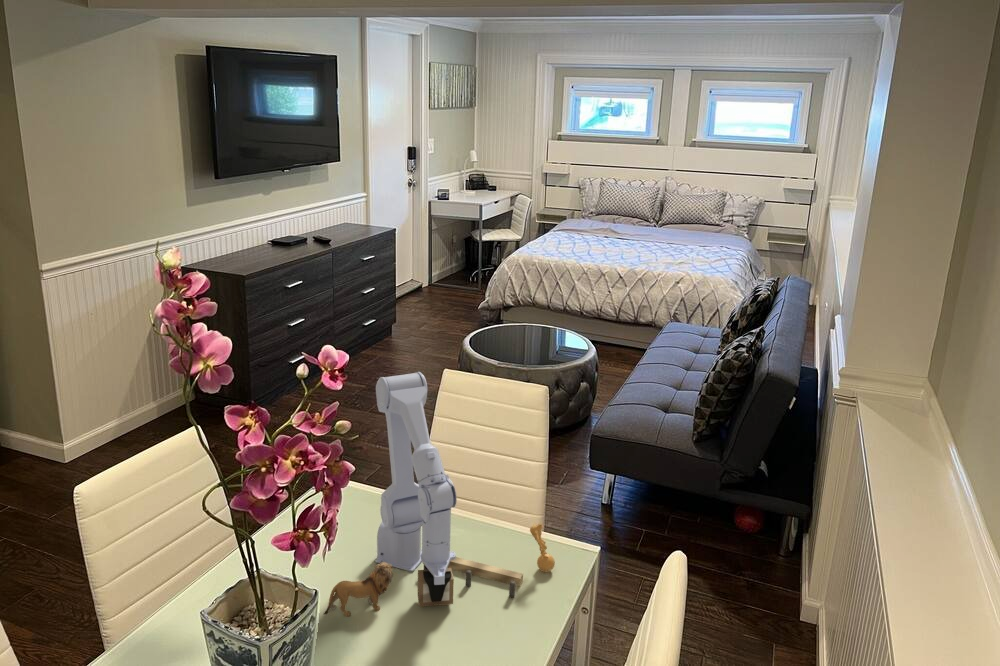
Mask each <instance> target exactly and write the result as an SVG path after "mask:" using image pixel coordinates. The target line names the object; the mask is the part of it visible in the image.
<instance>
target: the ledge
mask: <svg viewBox="0 0 1000 666" xmlns="http://www.w3.org/2000/svg"><path fill="white" fill-rule="evenodd" d="M447 568H451V569H452V571H457V572H459V573H460V572H461V573H464V574H465V587H466V588H471V587H472V575H473V576H475V577H476V576H477V577H480V578H483V579H484V578H485V579H489V580H492V581H497V582H500V583H504V584H508V585H509V590H508V591H509V592H508V597H509V599H515V597H516V587H519V588H520V587H521V586H522V584H523V582H524V573H522V572H518V571H515V570H511V569H506V568H501V567H498V566H494V565H490V564H485V563H482V562H481V563H480V562H478V561H473V560H469V559H465V558H461V557H457V556H456V559H454V560H450V562H449V565H448V567H447ZM423 570H426V569H425V566H424V565H423Z"/></svg>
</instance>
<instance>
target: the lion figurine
mask: <svg viewBox="0 0 1000 666" xmlns="http://www.w3.org/2000/svg"><path fill="white" fill-rule="evenodd" d="M393 576H394V572H393V567H392V565H389V564H388V563H384V562H383V563H377V564H376V565H375V566H374V570H373V571H372V572H371V573H370V574H369V576H368V577H366V578H364V579H362V580H358V581H349V580H340V581H339V582H338V583H337V584H336V585H335V586H334V587H333V588H332V589H331V591H330V592H331V593H330V596H329V599H328V603H327V604H328V605H327V608H326V609H325V611H324V612H323V614H322V615H323V616H325V615H326V616H327V614H328V613H329V612H330V610H336V608H337V605H336V604H335V602H336V601H337V600H339V603H340V607H339V609H340V611H341V612H342V613H343V615H344V617H345V616H346V617H350V616H351V614H352V613H351V611H349V610H347V609H346V606H347V604H348V602H349V597H351V598H353V599H366V598H367V602H368V603H369V604H371V605H372V607H373V609H374V610H375V611H380V610H381V606H380V605H378V603H379V599H380V598H379V597H380V595H382V594H385V592H387V591H388V588H389V586H390V584H391V583H392V580H393V579H392V578H393Z"/></svg>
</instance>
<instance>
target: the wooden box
mask: <svg viewBox="0 0 1000 666" xmlns="http://www.w3.org/2000/svg"><path fill="white" fill-rule="evenodd" d="M423 571H429V570H428V569H426V570H424V569H417V601H418V607H433V606H443V605H447V606H448V605H454V581H455V580H454V575H453V570H452V569H451V568H447V570H446V571H451V579H450V581H449V582H448V583H447V585H446V587H445V591H444V594H443V598H442V601H437V602H432V601H431V598H430V593H429V588H428V585H427V583H426V582H425V580H424V576H423Z"/></svg>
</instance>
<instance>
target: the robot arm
mask: <svg viewBox="0 0 1000 666" xmlns="http://www.w3.org/2000/svg"><path fill="white" fill-rule="evenodd" d="M375 396H376V397H375V398H376V404H377V410H378V412H380V413H383V414H385V420H386V427H387V439H388V449H389V461H390V473H391V482H392V483H391V484H390V485H389V486H388V487H387V488H386V489H385V490H384V491H383V492H382V493H381V495H380V509H379V510H380V516H381V522H380V524H379V527H378V530H377V535H376V548H377V549H376V550H377V551H376V559H375V563H377V564H380V563H383V562H384V563H388V564H389V565H392V568H397V569H400V570H404V571H407V572H414V571H415V570H416V569H417V568H418V566H419V565H420V564H421V563H422V564H423V567H424V566H425V569H428V570H429V571H423V576H424V580H425V582H426V583H427V585H428V588H429V593H430V598H431V601H432V602H437V601H442V598H443V594H444V591H445V587H446V585H447V583H448V582H449V581H450V579H451V571H446V570H447V567H448V565H449V562H450V560H454V559H456V557H457V556H456V552H455V551H454V550H453V551H451V528H452V527H451V526H452V525H451V524H452V522H451V521H452V508H455V507H456V506H457V500H458V499H457V492H456V487H455V485H454V483H453V481H452V480H451V479H450V475H449V474H446V472H445V469H444V465H443V462H442V458H441V455H440V452H439V449H438V447H436V446H434V445H433V444H432V443H431V440H430V434H429V429H428V424H427V419H426V413H425V408H424V406H425V405H426V403H427V398H428V384H427V379H426V376H425V375H424V374H423V373H422V372H421V371H416V372H413V373H406V374H399V375H391V376H390V375H389V376H385V377H384V376H380V377H379V378H378V380H377V381H376V384H375ZM412 447H413V452H412ZM414 474H415V475H414ZM414 476H416V480H417V483H416V482H415V478H414Z"/></svg>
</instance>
